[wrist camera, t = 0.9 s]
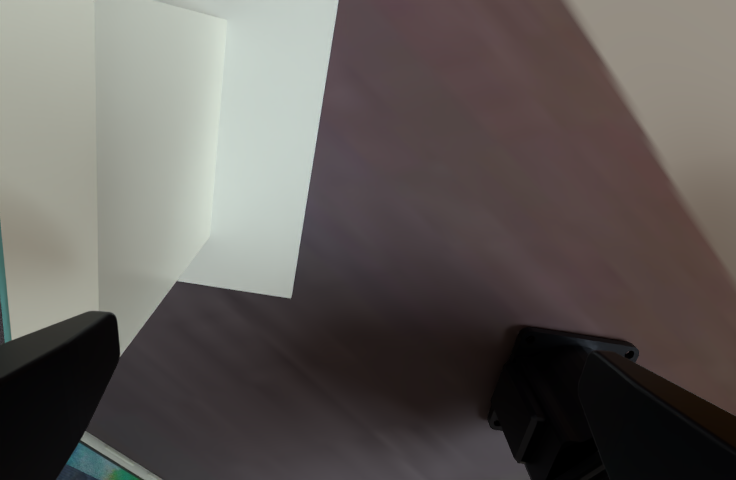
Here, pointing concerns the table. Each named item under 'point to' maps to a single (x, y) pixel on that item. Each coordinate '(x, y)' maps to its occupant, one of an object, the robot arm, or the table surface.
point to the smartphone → (106, 462)
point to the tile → (103, 156)
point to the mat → (263, 140)
